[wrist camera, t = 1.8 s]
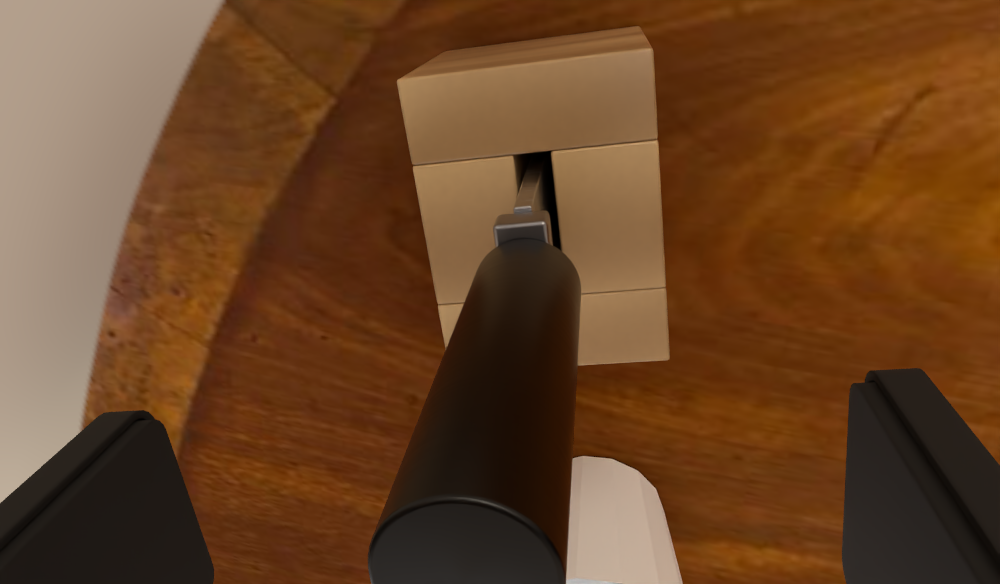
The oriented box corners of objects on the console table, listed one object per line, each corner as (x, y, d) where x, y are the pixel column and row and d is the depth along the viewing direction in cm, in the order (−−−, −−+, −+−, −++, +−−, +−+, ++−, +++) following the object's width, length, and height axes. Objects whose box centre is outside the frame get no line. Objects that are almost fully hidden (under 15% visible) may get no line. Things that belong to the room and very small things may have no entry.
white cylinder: (649, 599, 31) (661, 763, 25) (487, 556, 31) (459, 709, 25) (705, 469, 28) (736, 617, 22) (528, 422, 28) (507, 555, 22)
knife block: (442, 51, 23) (395, 79, 18) (640, 25, 22) (653, 46, 17) (480, 288, 26) (449, 374, 21) (654, 274, 25) (670, 361, 20)
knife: (513, 125, 24) (338, 470, 8) (583, 117, 24) (549, 461, 7) (525, 215, 25) (393, 677, 9) (591, 209, 25) (577, 679, 9)
